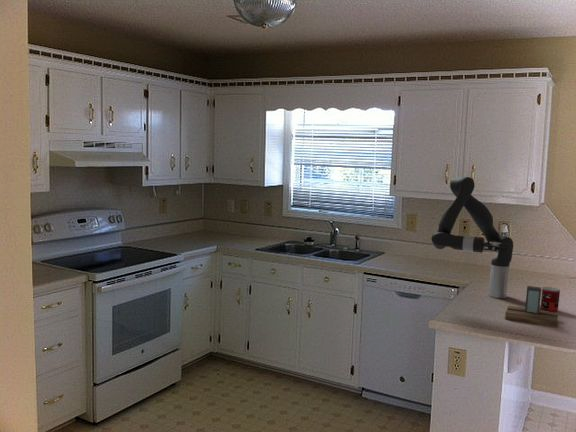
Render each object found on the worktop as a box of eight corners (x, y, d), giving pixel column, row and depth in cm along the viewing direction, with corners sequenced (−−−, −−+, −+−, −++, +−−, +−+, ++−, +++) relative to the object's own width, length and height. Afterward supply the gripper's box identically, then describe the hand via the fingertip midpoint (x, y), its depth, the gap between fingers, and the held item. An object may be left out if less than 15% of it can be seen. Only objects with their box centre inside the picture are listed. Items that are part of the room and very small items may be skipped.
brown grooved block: (507, 312, 279) (508, 305, 279) (557, 320, 270) (558, 312, 269) (505, 319, 268) (505, 311, 267) (556, 327, 258) (557, 319, 258)
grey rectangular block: (524, 314, 271) (527, 285, 270) (538, 316, 269) (541, 287, 267) (524, 316, 268) (527, 287, 267) (538, 318, 266) (541, 288, 264)
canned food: (537, 307, 292) (540, 286, 290) (553, 308, 291) (555, 287, 290) (544, 311, 284) (546, 290, 283) (560, 312, 284) (562, 290, 282)
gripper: (471, 238, 275) (507, 242, 268) (476, 235, 288) (510, 238, 281) (470, 253, 276) (506, 257, 269) (474, 249, 288) (509, 253, 281)
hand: (508, 247), depth 275 cm, fingers open, 8 cm apart
